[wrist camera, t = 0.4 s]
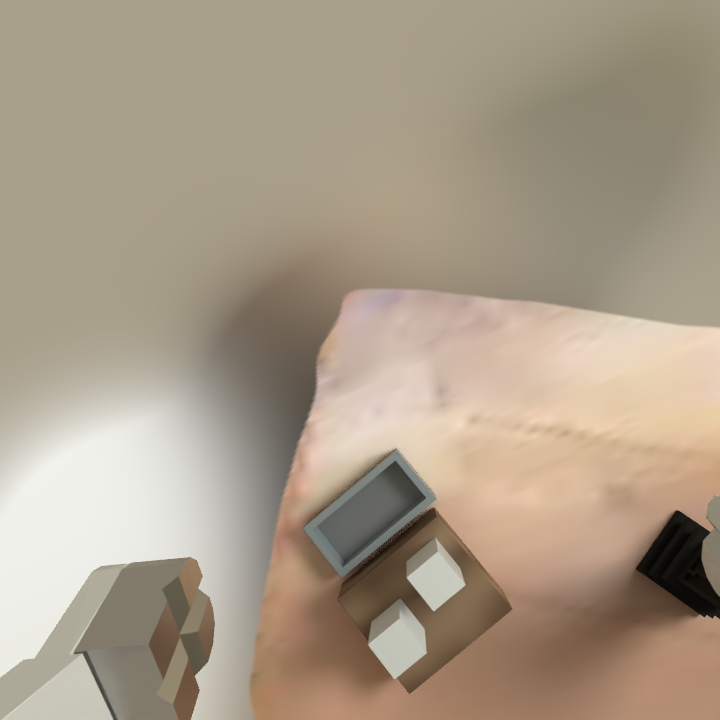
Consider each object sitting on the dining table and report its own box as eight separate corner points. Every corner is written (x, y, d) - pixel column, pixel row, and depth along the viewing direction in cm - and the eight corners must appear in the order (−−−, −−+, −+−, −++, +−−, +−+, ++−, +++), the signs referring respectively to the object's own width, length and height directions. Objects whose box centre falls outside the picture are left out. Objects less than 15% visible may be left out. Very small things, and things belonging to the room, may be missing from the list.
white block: (460, 567, 52) (465, 585, 47) (431, 591, 52) (433, 611, 47) (435, 537, 53) (438, 551, 48) (406, 561, 53) (406, 577, 48)
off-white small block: (424, 629, 52) (426, 653, 47) (395, 653, 52) (394, 679, 47) (400, 598, 52) (399, 618, 47) (371, 621, 52) (367, 644, 48)
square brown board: (503, 591, 56) (512, 609, 51) (409, 668, 56) (409, 694, 52) (434, 507, 58) (436, 517, 53) (343, 583, 58) (337, 600, 53)
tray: (435, 495, 58) (436, 499, 55) (344, 570, 58) (341, 578, 56) (396, 448, 59) (396, 450, 56) (307, 523, 59) (302, 528, 56)
